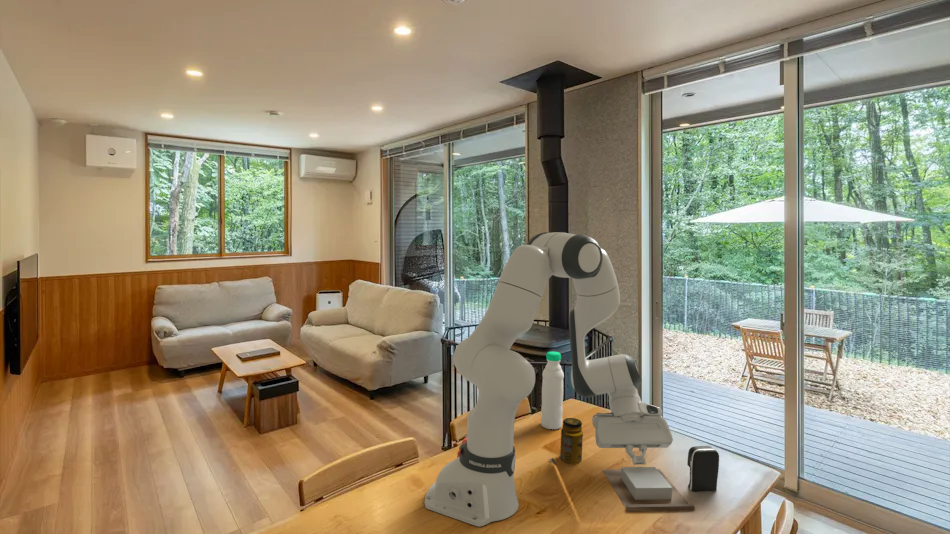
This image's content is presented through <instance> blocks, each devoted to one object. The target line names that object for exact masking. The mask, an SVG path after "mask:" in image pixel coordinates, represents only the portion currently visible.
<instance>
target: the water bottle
mask: <svg viewBox="0 0 950 534" xmlns="http://www.w3.org/2000/svg"><path fill="white" fill-rule="evenodd" d="M545 356H546V361H547V363H546V365H545V366H544V367H545V368H543V371H542V372H541V373H542V374H541V375H542V382H541V409H540V412H541V417H540V425H541V427H543V428H545V429H547V430H551V429H552V431H553V429H554V430H559V429H560V428H561V429H562V428H563V412H564V411H563V410H564V409H563V402H564V401H563V400H564V378H565V375H564V374H565V373H564V371H563V369H562V365H561V364H560V363H561V359H562V355H561V353H560V352H559V351H547V352H546V355H545Z"/></svg>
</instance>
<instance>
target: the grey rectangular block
mask: <svg viewBox="0 0 950 534" xmlns="http://www.w3.org/2000/svg"><path fill="white" fill-rule="evenodd" d="M620 469H621V479H622V481H623V482H624V484H625V485H626V487H627V488H628V490H629V491H630V493H631V494H632V496H633V497H634V498H635V500H663V499H672V487H671V486H670V484H669V483H668V482H667V481H666V480H665V478H664V477H663V476H662V475H661V474H660V472H659V471H658V470H657V469H658V468H656V467H655V466H627V467H626V466H623V467H622V466H621V468H620Z"/></svg>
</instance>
